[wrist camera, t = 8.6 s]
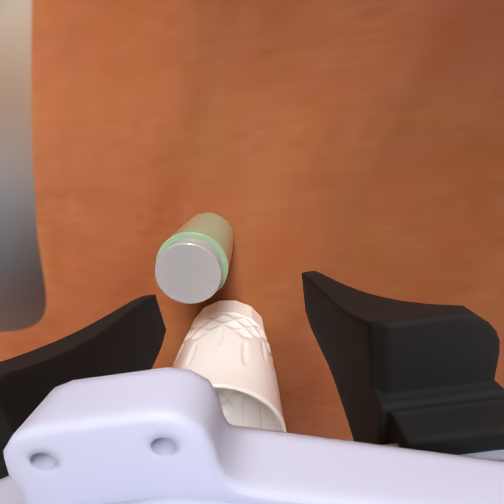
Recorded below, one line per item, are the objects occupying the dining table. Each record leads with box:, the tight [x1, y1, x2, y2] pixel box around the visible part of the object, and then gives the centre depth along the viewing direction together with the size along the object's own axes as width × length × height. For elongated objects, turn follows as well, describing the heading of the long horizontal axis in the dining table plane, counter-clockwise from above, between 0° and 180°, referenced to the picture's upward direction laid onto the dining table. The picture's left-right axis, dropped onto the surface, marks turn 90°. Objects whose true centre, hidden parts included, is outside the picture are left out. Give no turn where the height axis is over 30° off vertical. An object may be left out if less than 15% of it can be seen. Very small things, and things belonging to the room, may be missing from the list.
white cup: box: [171, 300, 286, 432], centre depth 19 cm, size 8×8×10 cm
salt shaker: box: [155, 213, 234, 304], centre depth 17 cm, size 4×4×8 cm
